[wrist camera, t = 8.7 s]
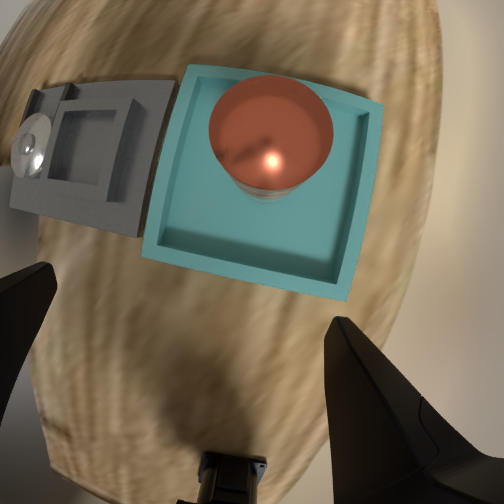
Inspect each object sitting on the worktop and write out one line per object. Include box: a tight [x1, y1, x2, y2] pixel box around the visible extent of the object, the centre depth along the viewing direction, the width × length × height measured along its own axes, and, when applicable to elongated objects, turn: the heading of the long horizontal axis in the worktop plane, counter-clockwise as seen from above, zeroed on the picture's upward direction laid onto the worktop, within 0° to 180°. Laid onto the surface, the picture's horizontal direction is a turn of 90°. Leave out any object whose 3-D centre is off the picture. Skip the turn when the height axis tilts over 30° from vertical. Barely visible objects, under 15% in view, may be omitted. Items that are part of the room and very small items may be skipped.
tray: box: [141, 64, 384, 302], centre depth 18 cm, size 14×14×2 cm
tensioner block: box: [10, 80, 179, 238], centre depth 17 cm, size 12×16×3 cm
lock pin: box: [208, 75, 334, 204], centre depth 13 cm, size 4×4×10 cm
